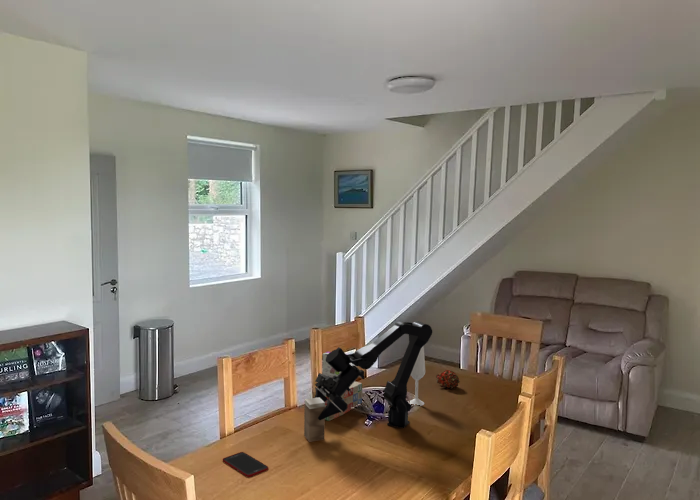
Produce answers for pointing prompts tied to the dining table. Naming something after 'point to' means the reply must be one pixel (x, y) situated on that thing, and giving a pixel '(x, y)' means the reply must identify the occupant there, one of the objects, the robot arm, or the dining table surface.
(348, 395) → the stack of blocks
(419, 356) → the champagne flute
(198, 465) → the dining table surface
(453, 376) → the dragon fruit
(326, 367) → the candy bar box
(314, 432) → the silver metal block
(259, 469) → the cell phone
